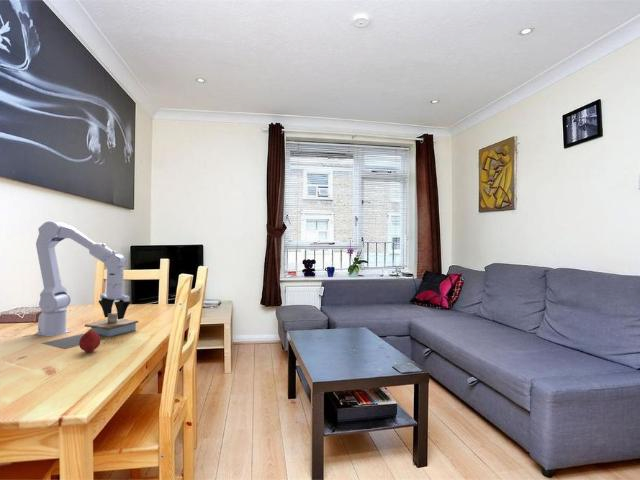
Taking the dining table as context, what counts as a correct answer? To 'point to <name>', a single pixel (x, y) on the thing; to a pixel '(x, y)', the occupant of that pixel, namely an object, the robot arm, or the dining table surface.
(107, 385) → the dining table surface
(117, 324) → the lid
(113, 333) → the light blue tray
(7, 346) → the dining table surface
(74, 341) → the mat
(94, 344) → the onion
